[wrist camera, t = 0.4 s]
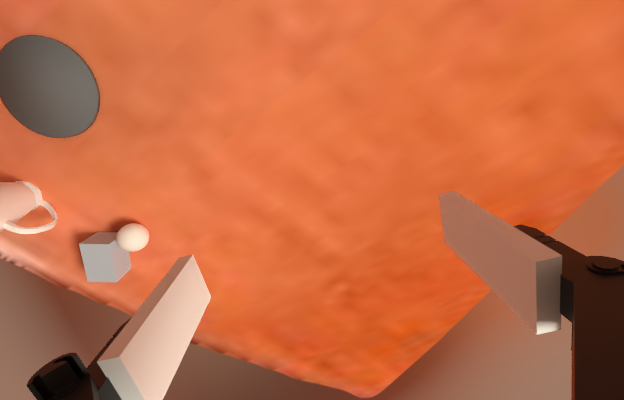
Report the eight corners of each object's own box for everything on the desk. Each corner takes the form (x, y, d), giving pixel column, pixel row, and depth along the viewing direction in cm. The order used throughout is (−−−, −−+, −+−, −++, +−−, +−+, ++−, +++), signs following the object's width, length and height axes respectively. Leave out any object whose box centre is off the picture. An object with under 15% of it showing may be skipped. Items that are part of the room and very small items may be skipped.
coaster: (-21, 50, 36) (-26, 49, 36) (72, 25, 36) (68, 23, 35) (31, 146, 40) (27, 147, 39) (115, 125, 39) (112, 125, 39)
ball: (122, 222, 44) (104, 233, 40) (147, 216, 43) (132, 227, 40) (133, 246, 45) (117, 259, 41) (158, 240, 45) (145, 253, 41)
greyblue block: (98, 231, 44) (78, 243, 40) (125, 232, 44) (109, 244, 41) (105, 267, 46) (87, 281, 42) (131, 267, 46) (116, 282, 42)
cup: (6, 161, 40) (-64, 175, 33) (80, 195, 42) (30, 216, 35) (-5, 204, 42) (-73, 226, 35) (66, 235, 44) (16, 263, 36)
